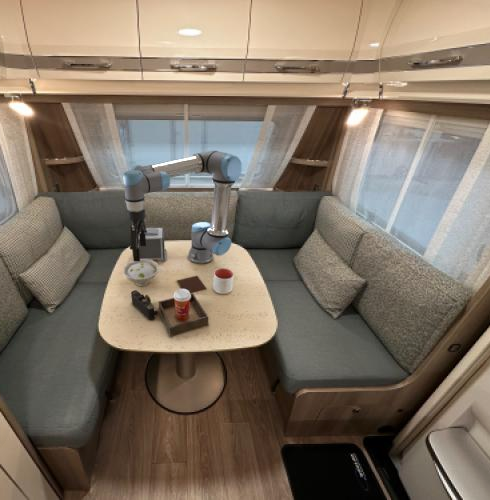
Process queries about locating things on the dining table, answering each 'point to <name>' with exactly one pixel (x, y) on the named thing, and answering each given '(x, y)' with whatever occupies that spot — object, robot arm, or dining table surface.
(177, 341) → the dining table surface
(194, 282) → the coaster mat
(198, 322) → the wooden tray
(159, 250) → the grey speaker box
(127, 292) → the dining table surface
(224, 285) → the cup
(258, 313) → the dining table surface
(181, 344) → the dining table surface
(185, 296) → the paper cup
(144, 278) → the bowl
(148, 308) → the camera
